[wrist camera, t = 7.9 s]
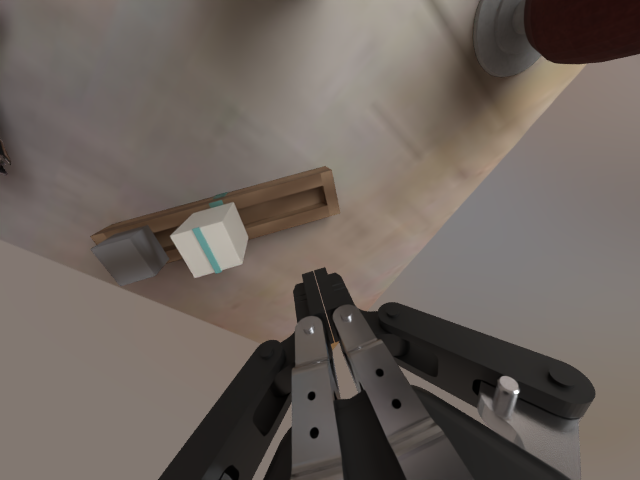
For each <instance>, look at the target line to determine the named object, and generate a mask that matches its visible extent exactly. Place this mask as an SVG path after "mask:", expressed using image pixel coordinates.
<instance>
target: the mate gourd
mask: <svg viewBox="0 0 640 480" xmlns="http://www.w3.org/2000/svg"><path fill="white" fill-rule="evenodd" d="M473 41H474V49H475V54H476V57H477V59H478V61H479V64H480V65H481V66H482V68H483V69H484V70H485V71H486V72H488V73H489V74H490V75H493V76H496V77H507V76H512V75H516V74H518V73H520V72H522V71H524V70H526V69H527V68H529V67H530V66H531V65H532V64H534V63H535V62H536V61H537V60H538V59H539V58H540V56H541V55H542V56H543V57H544V58H546V59H547V60H549V61H551V62H553V63H558V64H586V63H597V62H605V61H609V60H614V59H618V58H623V57H628V56H632V55H636V54H640V0H480V2H479V5H478V8H477V12H476V16H475V21H474V30H473Z"/></svg>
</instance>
